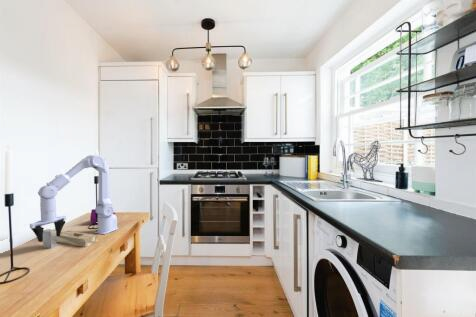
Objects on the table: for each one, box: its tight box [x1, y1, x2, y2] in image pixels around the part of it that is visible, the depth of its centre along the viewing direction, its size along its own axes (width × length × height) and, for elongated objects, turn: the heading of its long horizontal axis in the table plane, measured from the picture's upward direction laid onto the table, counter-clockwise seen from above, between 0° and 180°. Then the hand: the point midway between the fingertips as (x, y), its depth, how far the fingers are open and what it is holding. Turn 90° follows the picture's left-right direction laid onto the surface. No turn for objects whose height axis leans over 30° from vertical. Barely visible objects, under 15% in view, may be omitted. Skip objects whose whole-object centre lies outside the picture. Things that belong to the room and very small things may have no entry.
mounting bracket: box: [89, 208, 116, 225], centre depth 154 cm, size 10×8×18 cm
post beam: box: [56, 230, 99, 248], centre depth 118 cm, size 6×22×4 cm, turn 69°
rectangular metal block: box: [42, 228, 58, 249], centre depth 113 cm, size 2×6×8 cm, turn 69°
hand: (49, 238), depth 112 cm, fingers open, 7 cm apart
